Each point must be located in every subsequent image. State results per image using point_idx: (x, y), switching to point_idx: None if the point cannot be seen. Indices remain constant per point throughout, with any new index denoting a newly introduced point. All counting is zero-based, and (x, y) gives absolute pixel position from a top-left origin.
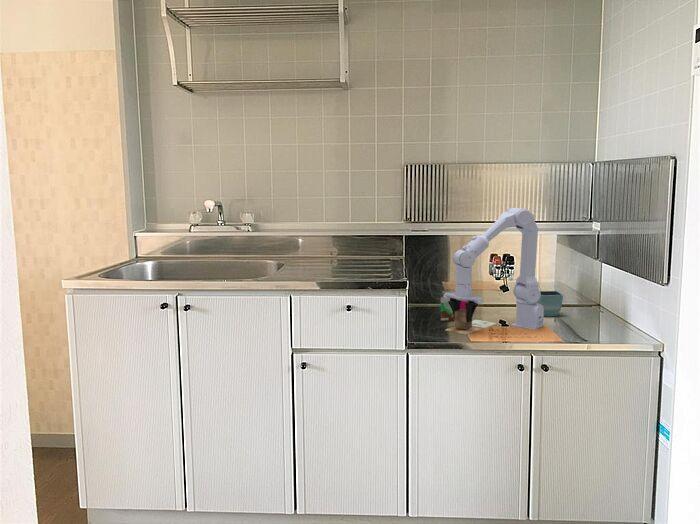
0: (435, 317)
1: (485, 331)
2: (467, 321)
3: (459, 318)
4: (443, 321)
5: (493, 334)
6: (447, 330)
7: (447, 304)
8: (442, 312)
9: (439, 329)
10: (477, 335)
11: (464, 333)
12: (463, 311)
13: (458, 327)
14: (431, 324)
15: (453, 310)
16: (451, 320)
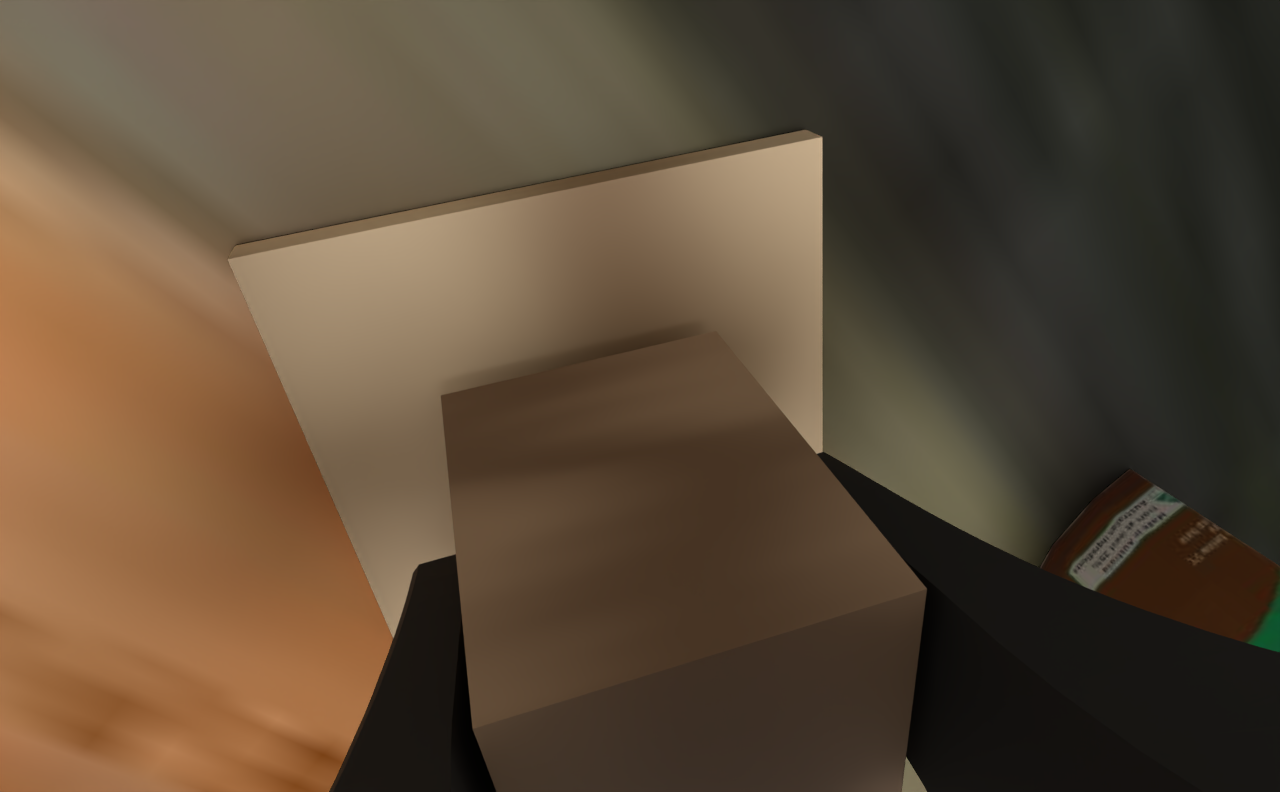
0: (1263, 550)
1: (297, 684)
2: (441, 566)
3: (658, 494)
4: (1105, 502)
5: (20, 693)
6: (759, 144)
7: None
8: (1250, 584)
9: (961, 139)
10: (105, 429)
11: (298, 245)
12: (683, 765)
13: (617, 360)
14: (1206, 276)
15: (991, 587)
16: None
